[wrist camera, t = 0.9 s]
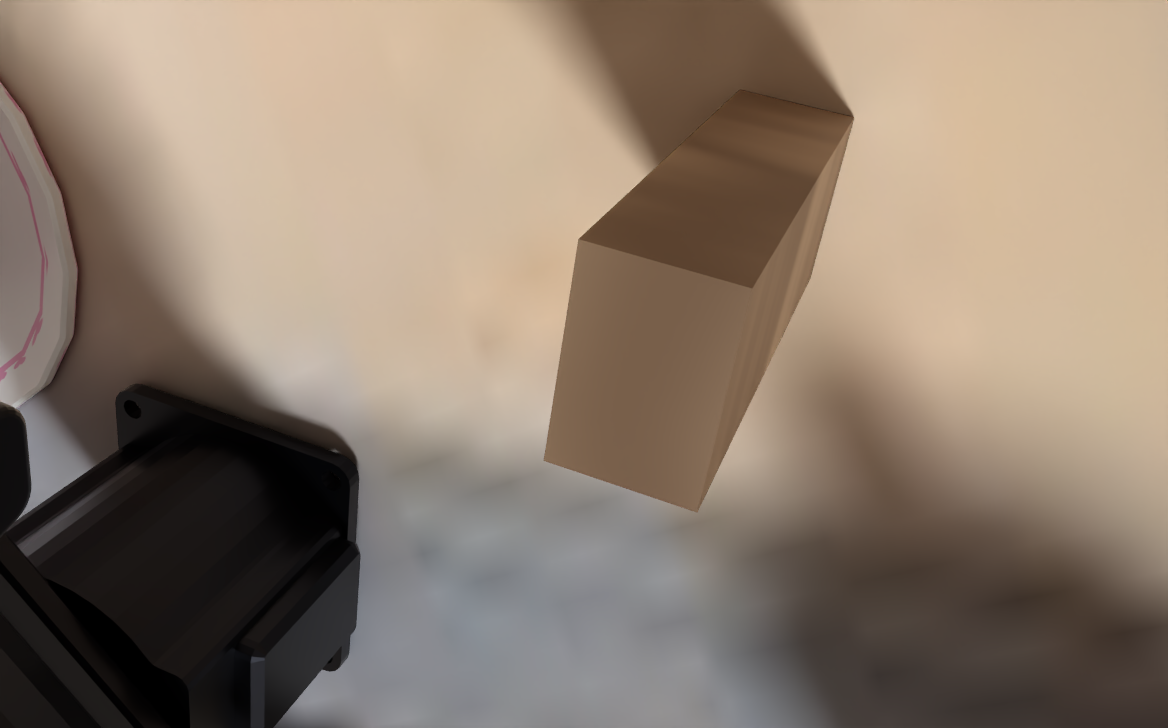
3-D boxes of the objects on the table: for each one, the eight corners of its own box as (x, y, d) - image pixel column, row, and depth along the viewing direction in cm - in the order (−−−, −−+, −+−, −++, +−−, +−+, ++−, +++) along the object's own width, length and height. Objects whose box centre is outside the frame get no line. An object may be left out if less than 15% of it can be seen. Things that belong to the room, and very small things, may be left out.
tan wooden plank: (705, 248, 20) (543, 461, 14) (739, 89, 19) (578, 239, 12) (810, 278, 20) (696, 512, 13) (854, 117, 18) (752, 289, 12)
